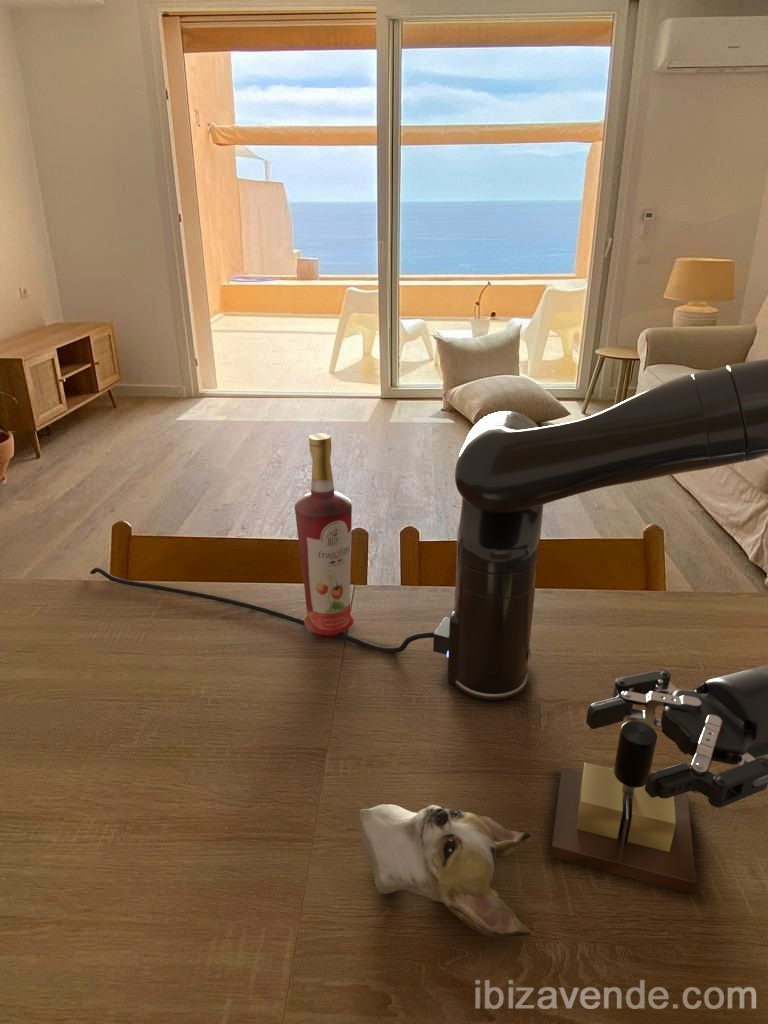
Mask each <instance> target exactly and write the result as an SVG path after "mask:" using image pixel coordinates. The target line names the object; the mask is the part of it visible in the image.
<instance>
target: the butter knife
mask: <svg viewBox="0 0 768 1024" xmlns="http://www.w3.org/2000/svg"><path fill="white" fill-rule="evenodd" d="M618 738H619V739H618V743H617V750H616V755H615V760H614V767H613V769H614V775H615V777H616V778H617V779H618V780H619V781H620V782H621V783H622V784H623V788H622V791H623V813H622V825H621V847H624V842H625V836H626V831H627V826H628V821H629V796H630V795H633V793H634V789H635V788H638V787H643V786H644V785H646V781H647V777H648V775H649V774H650V773H651V771H652V766H653V760H654V755H655V751H656V745H657V739H658V733H657V731H656V730H654V729H653V728H652V727H651V726H649V725H648V724H646V723H643V722H640V721H631V720H627V721H625V722H624V723H623V724H622V725H621V727H620V732H619V737H618Z"/></svg>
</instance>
